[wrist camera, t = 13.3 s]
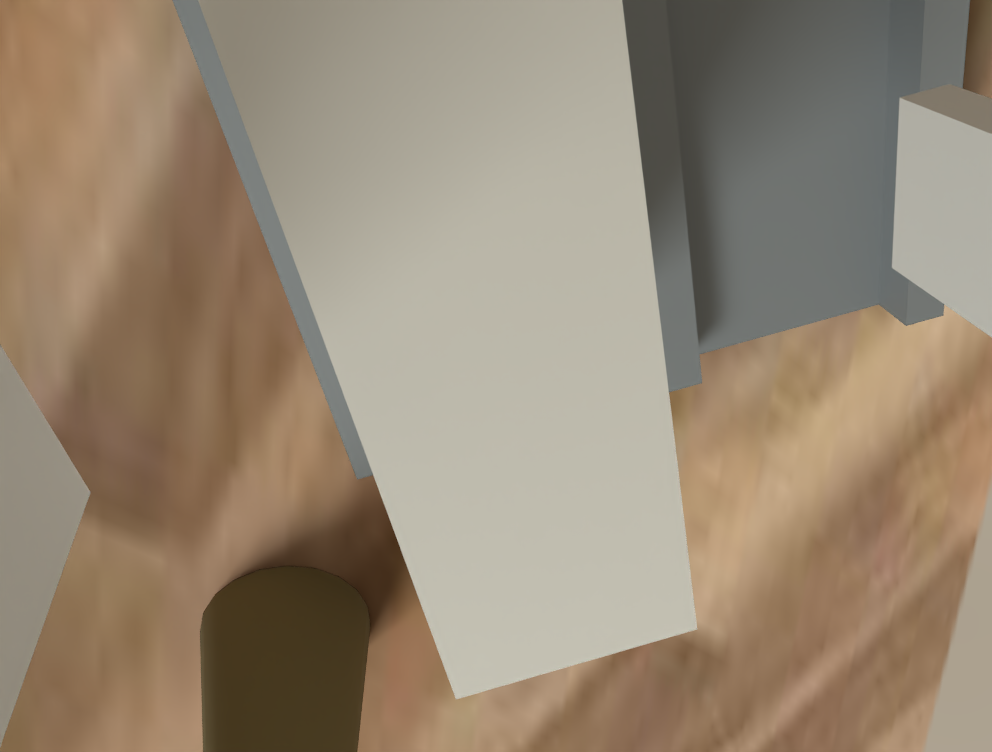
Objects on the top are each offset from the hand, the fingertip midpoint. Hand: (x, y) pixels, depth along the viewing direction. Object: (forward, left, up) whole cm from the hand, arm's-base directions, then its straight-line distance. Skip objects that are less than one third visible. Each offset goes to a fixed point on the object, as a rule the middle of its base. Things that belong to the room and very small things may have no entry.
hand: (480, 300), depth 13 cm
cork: (-9, -17, -12) cm, 23 cm away
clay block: (0, 0, -11) cm, 11 cm away
